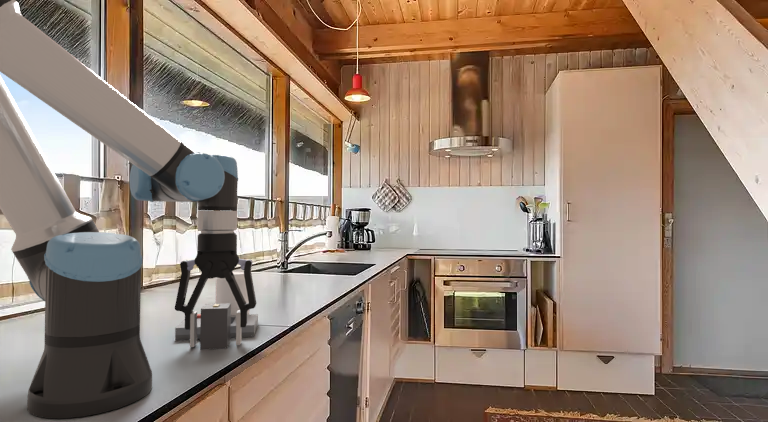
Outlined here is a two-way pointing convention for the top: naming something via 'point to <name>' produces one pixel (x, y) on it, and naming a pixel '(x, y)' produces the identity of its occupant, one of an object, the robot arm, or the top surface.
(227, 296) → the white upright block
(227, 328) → the dark grey upright block
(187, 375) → the top surface
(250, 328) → the socket faceplate
